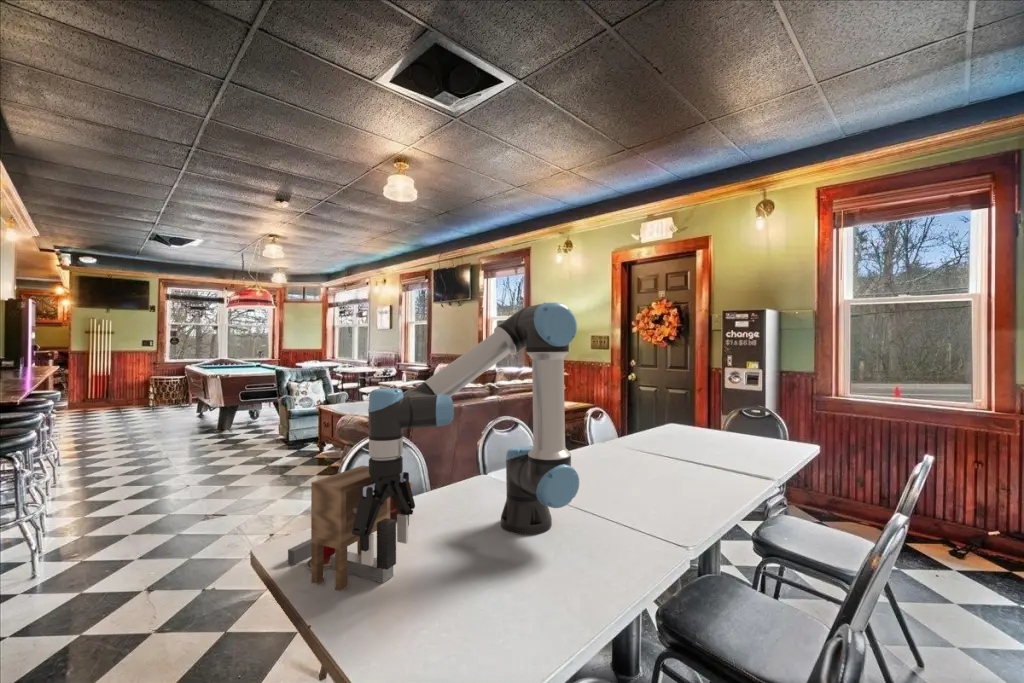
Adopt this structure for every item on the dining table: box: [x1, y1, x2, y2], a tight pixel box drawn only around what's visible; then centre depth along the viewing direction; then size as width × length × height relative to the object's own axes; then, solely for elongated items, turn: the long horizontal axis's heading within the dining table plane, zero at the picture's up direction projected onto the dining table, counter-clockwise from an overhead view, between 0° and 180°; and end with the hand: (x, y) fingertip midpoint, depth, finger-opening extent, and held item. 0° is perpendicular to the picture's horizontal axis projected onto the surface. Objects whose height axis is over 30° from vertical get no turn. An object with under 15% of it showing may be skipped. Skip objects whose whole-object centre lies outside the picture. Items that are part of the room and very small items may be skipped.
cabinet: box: [310, 464, 390, 592], centre depth 106 cm, size 10×16×22 cm, turn 155°
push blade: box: [329, 518, 397, 584], centre depth 105 cm, size 17×4×13 cm, turn 65°
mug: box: [390, 481, 413, 523], centre depth 137 cm, size 12×9×10 cm
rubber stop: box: [287, 538, 311, 567], centre depth 113 cm, size 2×8×4 cm, turn 155°
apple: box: [305, 546, 335, 570], centre depth 110 cm, size 8×8×6 cm
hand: (386, 552), depth 102 cm, fingers open, 11 cm apart
